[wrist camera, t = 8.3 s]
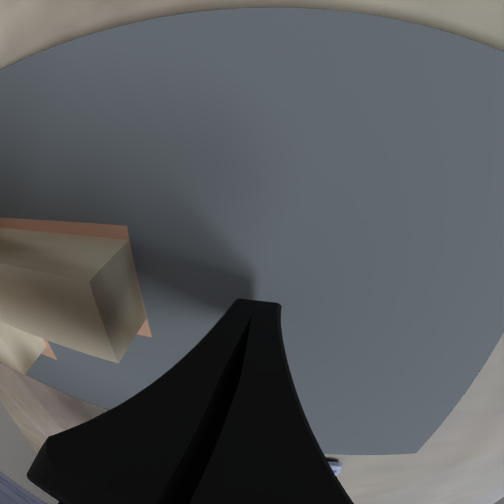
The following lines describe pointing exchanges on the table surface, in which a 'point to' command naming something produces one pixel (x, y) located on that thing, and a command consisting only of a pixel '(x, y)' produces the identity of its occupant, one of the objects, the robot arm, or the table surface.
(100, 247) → the t block
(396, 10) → the table surface
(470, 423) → the table surface
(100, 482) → the robot arm
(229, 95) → the mat
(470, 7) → the table surface
